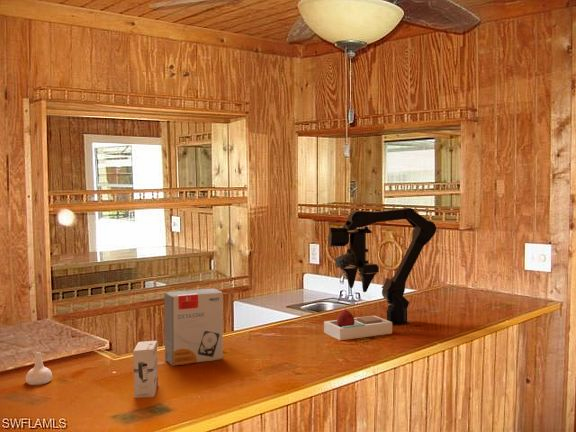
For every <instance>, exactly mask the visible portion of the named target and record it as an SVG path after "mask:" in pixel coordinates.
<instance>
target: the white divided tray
mask: <svg viewBox="0 0 576 432" xmlns="http://www.w3.org/2000/svg"><path fill="white" fill-rule="evenodd" d="M354 320H355V323H354V325H350V326H342V327H339V326H338V324H337V319H336V320H335V319H334V320H325V321H323V333H324V334H326V335H328V336H330V337H332V338H334V339H337V340H338V341H344V340H346V341H347V340H352V339H354V340H355V339H359V338H360V339H361V338H367V337H368V338H369V337H374V336H382V335H383V336H384V335H389V334H393V324H392V322H391V321H388V320H387V319H385V318H382V317H379V316H376V315H369V316H368V315H367V316H360V317H354Z"/></svg>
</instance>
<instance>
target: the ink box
mask: <svg viewBox="0 0 576 432" xmlns="http://www.w3.org/2000/svg"><path fill="white" fill-rule="evenodd" d="M132 356H133V362H132V363H133V393H134V394H133V397H134V398H135V399H137V398H140V399H141V398H154V397H155V396H156V392H157V391H158V390H157V389H158V387H159V371H158V370H159V369H158V368H159V367H158V341H157V340H147V341H146V340H145V341H138V342H137V344H136V346H135V348H134V349H133V351H132Z"/></svg>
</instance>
